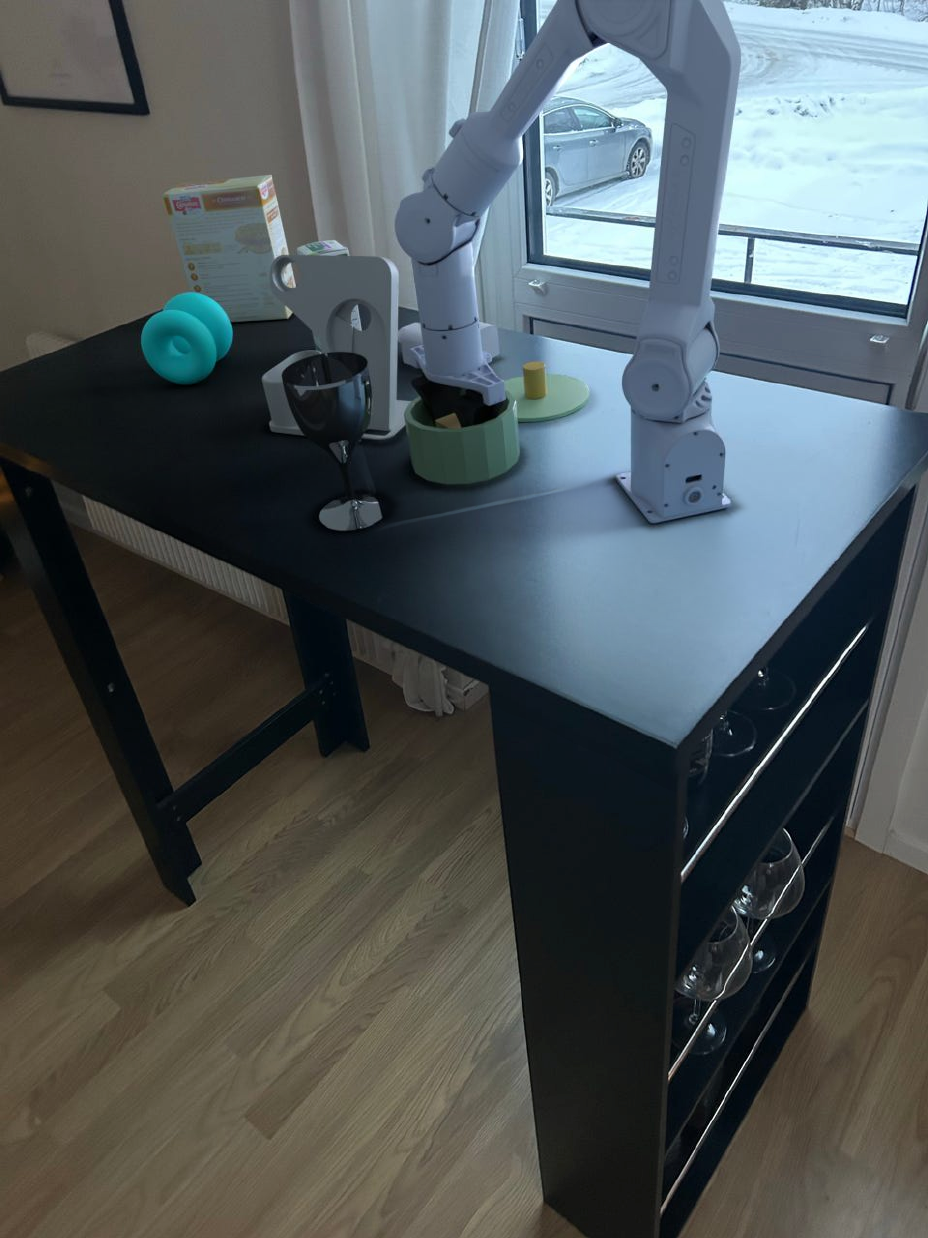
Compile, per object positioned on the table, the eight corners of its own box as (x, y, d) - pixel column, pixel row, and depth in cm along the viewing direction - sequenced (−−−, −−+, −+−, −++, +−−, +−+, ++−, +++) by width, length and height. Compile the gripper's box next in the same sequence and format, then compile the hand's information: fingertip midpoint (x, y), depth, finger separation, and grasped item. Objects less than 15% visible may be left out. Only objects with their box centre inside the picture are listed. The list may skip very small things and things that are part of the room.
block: (491, 458, 98) (487, 419, 95) (460, 471, 96) (455, 431, 93) (470, 446, 100) (466, 407, 98) (439, 458, 99) (434, 419, 96)
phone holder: (263, 430, 111) (223, 278, 100) (308, 396, 118) (276, 250, 107) (388, 445, 104) (360, 283, 93) (429, 407, 111) (407, 252, 100)
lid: (604, 413, 104) (603, 374, 101) (498, 435, 103) (494, 395, 100) (570, 374, 114) (568, 337, 111) (473, 393, 113) (469, 356, 110)
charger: (427, 336, 130) (500, 358, 121) (376, 357, 126) (447, 382, 116) (423, 302, 128) (497, 322, 118) (370, 323, 123) (442, 345, 113)
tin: (532, 475, 94) (528, 417, 91) (424, 497, 93) (415, 439, 89) (504, 430, 104) (499, 376, 100) (405, 450, 102) (396, 395, 98)
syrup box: (315, 353, 130) (292, 246, 121) (354, 343, 131) (335, 237, 123) (327, 365, 125) (305, 255, 117) (368, 354, 127) (349, 245, 118)
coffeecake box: (301, 304, 148) (273, 173, 137) (288, 319, 143) (258, 184, 131) (213, 310, 151) (179, 181, 139) (198, 325, 145) (160, 193, 134)
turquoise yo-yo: (243, 357, 132) (224, 286, 126) (221, 385, 124) (200, 311, 118) (177, 361, 133) (155, 292, 127) (151, 390, 125) (127, 317, 119)
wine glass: (354, 485, 97) (326, 346, 88) (409, 503, 92) (386, 359, 84) (298, 519, 92) (263, 377, 83) (354, 540, 88) (323, 392, 79)
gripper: (527, 326, 86) (536, 457, 94) (444, 293, 96) (459, 414, 104) (464, 347, 83) (478, 481, 91) (385, 312, 93) (405, 435, 101)
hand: (464, 447), depth 97 cm, fingers open, 5 cm apart
